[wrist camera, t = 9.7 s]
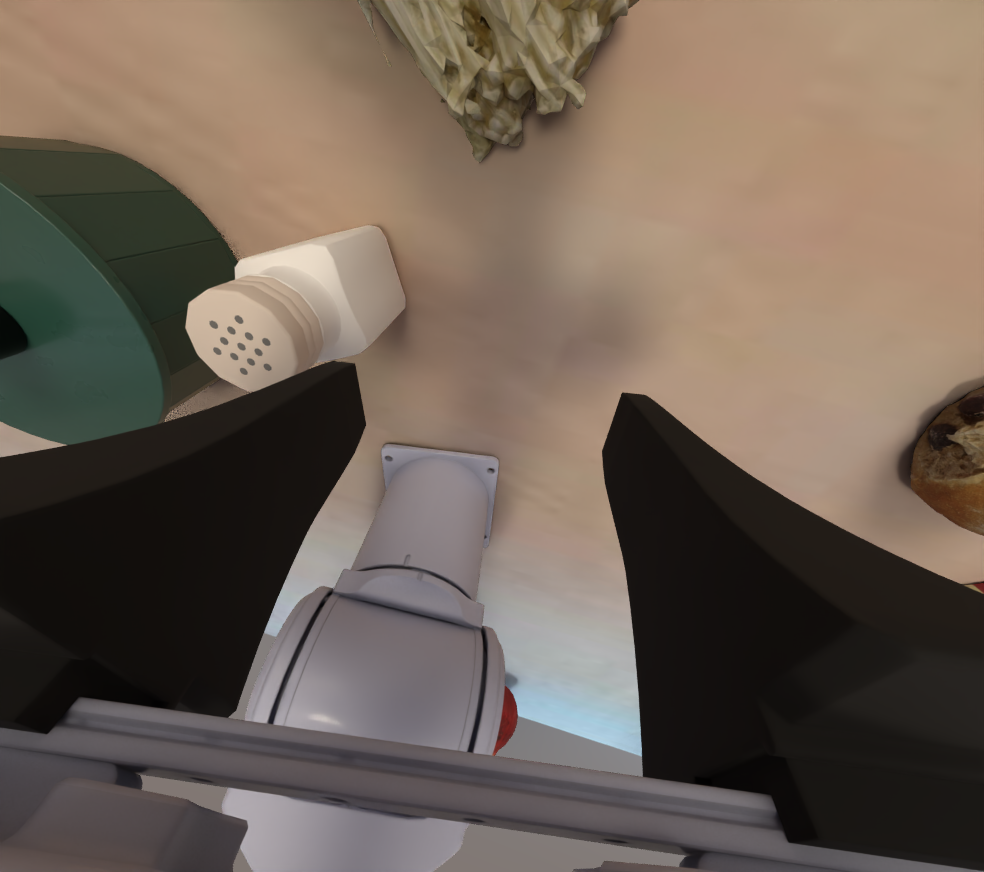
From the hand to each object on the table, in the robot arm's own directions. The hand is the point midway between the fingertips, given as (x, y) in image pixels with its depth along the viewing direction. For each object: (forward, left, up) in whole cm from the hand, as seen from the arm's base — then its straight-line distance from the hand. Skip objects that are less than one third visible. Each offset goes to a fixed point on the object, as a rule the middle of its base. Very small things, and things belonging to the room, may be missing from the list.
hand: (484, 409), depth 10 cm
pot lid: (-1, +19, -4) cm, 20 cm away
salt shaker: (+1, +7, -11) cm, 13 cm away
